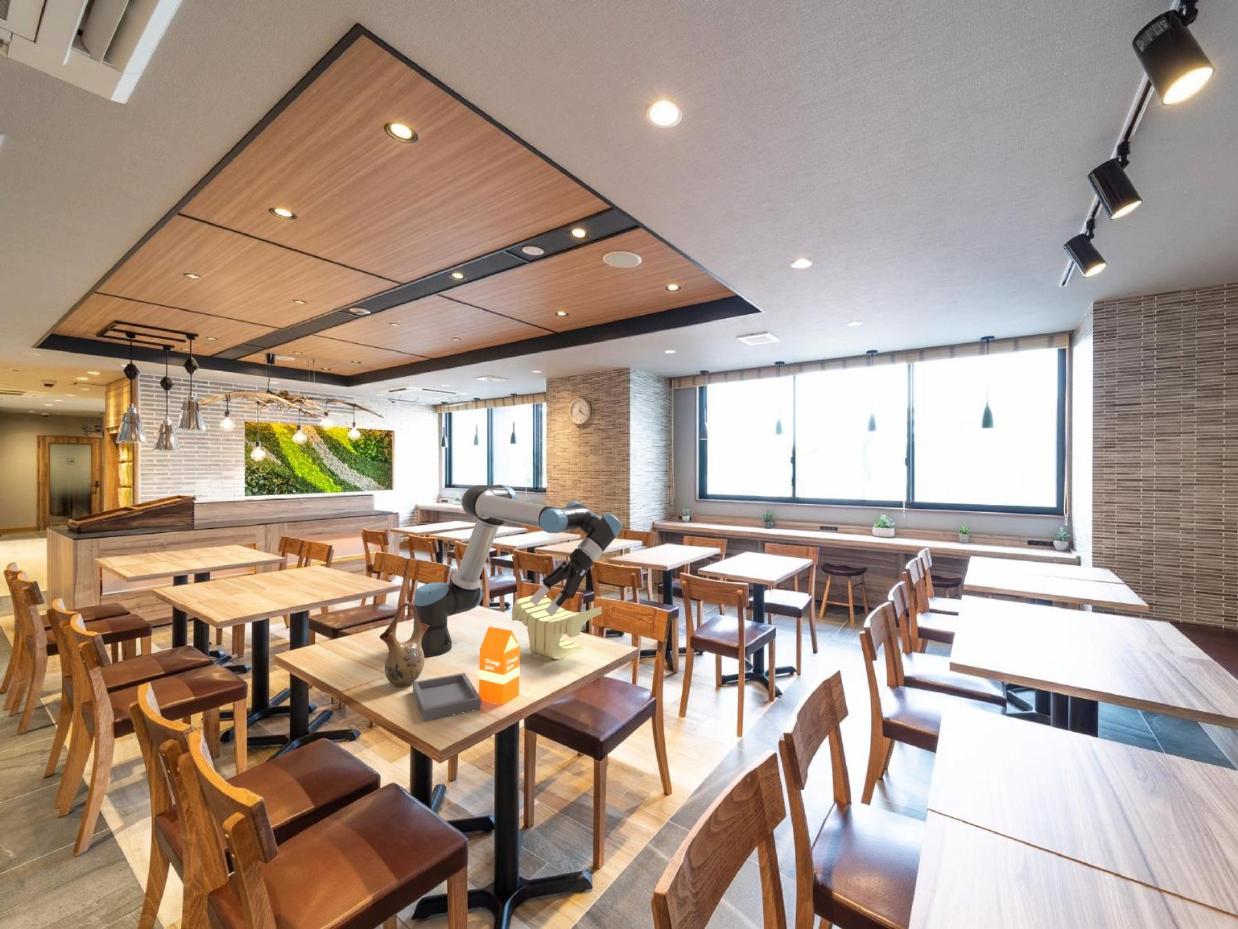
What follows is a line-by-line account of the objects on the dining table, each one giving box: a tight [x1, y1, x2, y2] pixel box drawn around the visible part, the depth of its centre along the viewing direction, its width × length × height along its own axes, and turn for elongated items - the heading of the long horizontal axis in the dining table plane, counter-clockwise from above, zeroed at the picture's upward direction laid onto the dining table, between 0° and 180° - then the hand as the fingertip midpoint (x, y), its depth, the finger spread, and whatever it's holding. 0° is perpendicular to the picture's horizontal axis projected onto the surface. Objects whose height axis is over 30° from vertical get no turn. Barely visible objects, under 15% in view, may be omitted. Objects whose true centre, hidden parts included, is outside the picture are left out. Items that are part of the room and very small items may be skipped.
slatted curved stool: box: [511, 594, 603, 660], centre depth 186 cm, size 30×16×18 cm, turn 53°
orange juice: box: [478, 626, 521, 706], centre depth 148 cm, size 8×9×20 cm
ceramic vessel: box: [379, 602, 430, 688], centre depth 156 cm, size 16×9×25 cm, turn 146°
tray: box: [412, 672, 482, 722], centre depth 145 cm, size 20×15×3 cm
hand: (540, 608), depth 154 cm, fingers open, 13 cm apart
